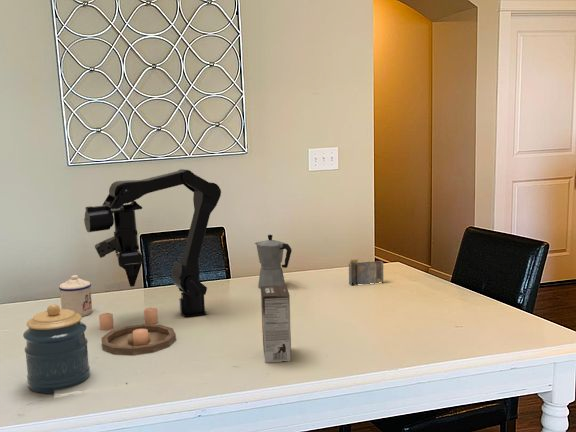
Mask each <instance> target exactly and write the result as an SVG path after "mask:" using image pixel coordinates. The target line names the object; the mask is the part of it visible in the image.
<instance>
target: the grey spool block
mask: <svg viewBox="0 0 576 432" xmlns="http://www.w3.org/2000/svg"><path fill="white" fill-rule="evenodd" d="M379 282H383V283H384V262H383V261H381V260H377V261H375V260H374V261H362V262H361V261H360V262H358V258H356V259H350V260H349V263H348V285H349V286H351V285H352V286H353V284H352V283H357V284H370V283H379ZM357 284H356V285H357ZM370 285H371V284H370Z"/></svg>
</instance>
